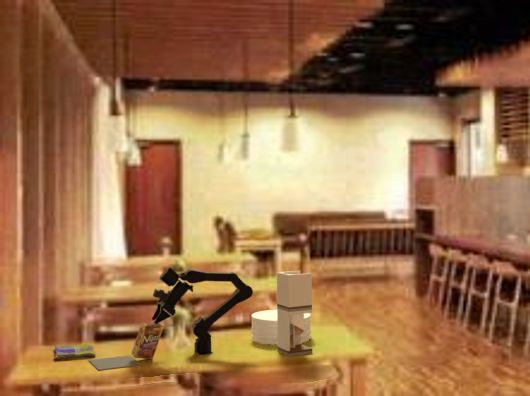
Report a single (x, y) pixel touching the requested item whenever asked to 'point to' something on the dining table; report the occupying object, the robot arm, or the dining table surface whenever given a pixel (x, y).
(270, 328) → the plate stack
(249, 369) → the dining table surface
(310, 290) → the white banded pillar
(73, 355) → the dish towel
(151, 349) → the candy box
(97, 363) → the mat
